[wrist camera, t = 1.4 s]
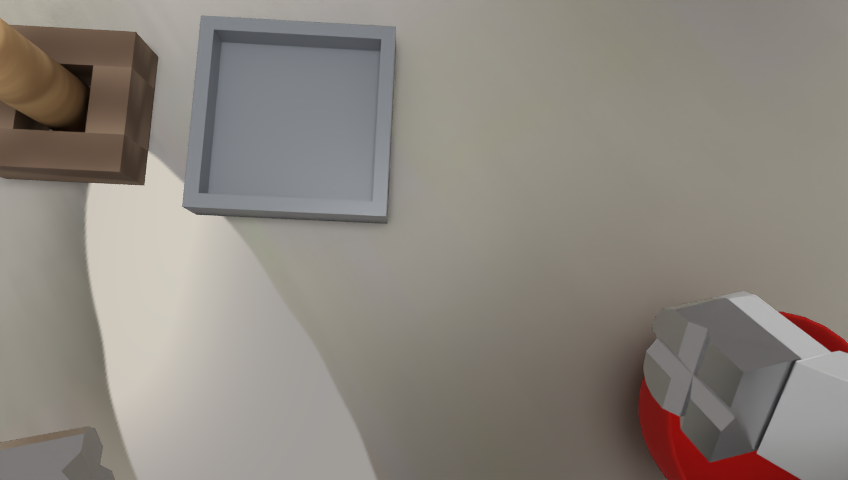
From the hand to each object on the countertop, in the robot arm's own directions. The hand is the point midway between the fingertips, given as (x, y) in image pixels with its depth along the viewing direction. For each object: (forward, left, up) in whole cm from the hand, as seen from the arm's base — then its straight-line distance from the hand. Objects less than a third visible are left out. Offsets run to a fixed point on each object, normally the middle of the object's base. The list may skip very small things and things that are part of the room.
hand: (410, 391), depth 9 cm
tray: (-15, -8, -36) cm, 40 cm away
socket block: (-15, -24, -36) cm, 46 cm away
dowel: (-15, -24, -36) cm, 46 cm away
